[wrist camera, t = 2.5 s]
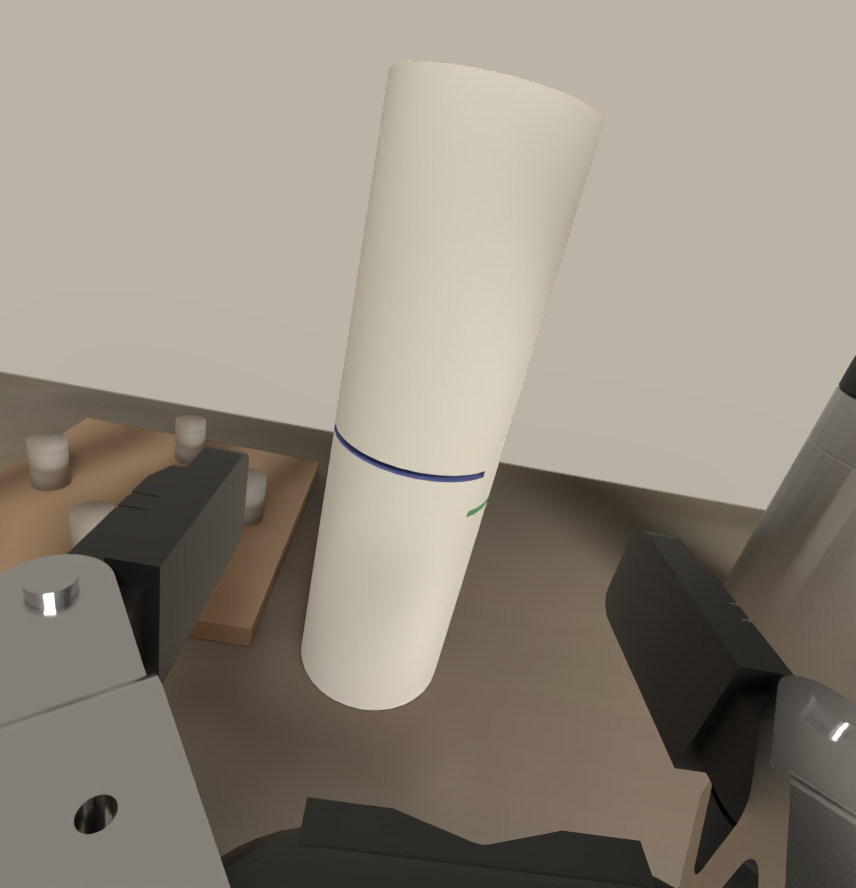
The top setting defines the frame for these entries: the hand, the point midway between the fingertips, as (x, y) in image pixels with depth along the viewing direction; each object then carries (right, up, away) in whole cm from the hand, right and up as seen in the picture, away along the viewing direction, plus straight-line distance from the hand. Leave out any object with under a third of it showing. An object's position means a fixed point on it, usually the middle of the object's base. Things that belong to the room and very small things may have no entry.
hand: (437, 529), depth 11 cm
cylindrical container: (-3, -9, +17) cm, 19 cm away
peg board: (-18, -3, +23) cm, 29 cm away
